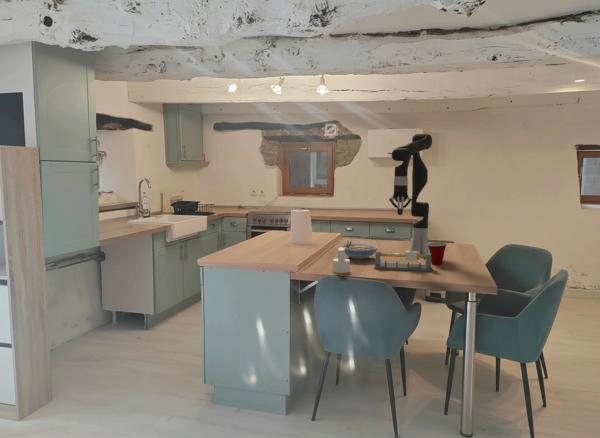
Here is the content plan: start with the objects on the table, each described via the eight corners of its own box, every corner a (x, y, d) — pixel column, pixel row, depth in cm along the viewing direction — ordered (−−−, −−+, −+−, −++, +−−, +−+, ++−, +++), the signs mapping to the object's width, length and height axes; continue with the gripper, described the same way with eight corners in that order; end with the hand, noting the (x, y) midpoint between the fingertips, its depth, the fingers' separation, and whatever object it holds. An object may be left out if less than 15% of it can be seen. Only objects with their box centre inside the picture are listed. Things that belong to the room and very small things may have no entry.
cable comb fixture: (374, 268, 242) (374, 253, 241) (375, 264, 254) (375, 249, 253) (431, 271, 236) (432, 255, 235) (430, 267, 247) (430, 251, 246)
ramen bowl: (377, 263, 256) (377, 249, 255) (337, 261, 261) (337, 248, 260) (378, 255, 281) (378, 242, 280) (342, 253, 285) (342, 241, 284)
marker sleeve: (405, 260, 242) (405, 239, 240) (405, 258, 246) (405, 238, 245) (416, 261, 240) (417, 239, 239) (416, 259, 245) (417, 238, 244)
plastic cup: (425, 261, 262) (426, 241, 261) (444, 262, 260) (445, 241, 259) (427, 265, 251) (427, 244, 250) (447, 266, 249) (448, 245, 248)
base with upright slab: (349, 273, 232) (349, 250, 231) (332, 272, 234) (332, 250, 232) (350, 269, 241) (350, 247, 240) (333, 268, 243) (333, 247, 241)
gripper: (388, 184, 247) (387, 215, 249) (413, 184, 244) (412, 216, 246) (388, 183, 254) (388, 214, 257) (412, 184, 251) (412, 214, 254)
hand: (400, 215), depth 251 cm, fingers closed
